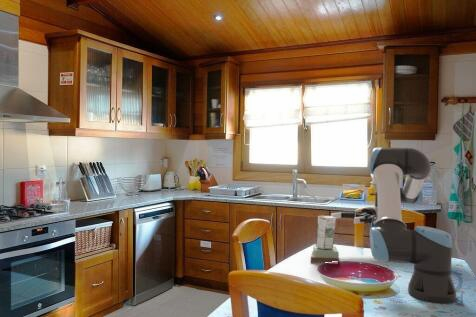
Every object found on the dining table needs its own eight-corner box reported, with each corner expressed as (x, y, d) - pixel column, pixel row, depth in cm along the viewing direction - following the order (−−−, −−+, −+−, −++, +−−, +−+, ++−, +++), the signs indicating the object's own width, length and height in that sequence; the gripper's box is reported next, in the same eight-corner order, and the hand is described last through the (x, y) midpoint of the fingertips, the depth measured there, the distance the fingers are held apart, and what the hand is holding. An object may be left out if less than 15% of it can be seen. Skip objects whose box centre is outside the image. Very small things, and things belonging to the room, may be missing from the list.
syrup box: (325, 246, 186) (327, 215, 186) (333, 249, 181) (336, 217, 181) (315, 246, 183) (317, 215, 184) (323, 249, 178) (326, 217, 178)
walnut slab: (338, 266, 175) (338, 259, 175) (310, 263, 178) (310, 257, 178) (338, 259, 187) (338, 252, 187) (312, 256, 190) (312, 250, 190)
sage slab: (338, 258, 177) (338, 251, 177) (315, 257, 178) (315, 250, 178) (335, 252, 187) (335, 246, 187) (313, 251, 188) (313, 245, 188)
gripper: (392, 226, 191) (364, 231, 178) (350, 218, 211) (322, 222, 199) (393, 210, 191) (365, 214, 178) (350, 204, 211) (322, 207, 198)
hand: (342, 218), depth 188 cm, fingers open, 13 cm apart
